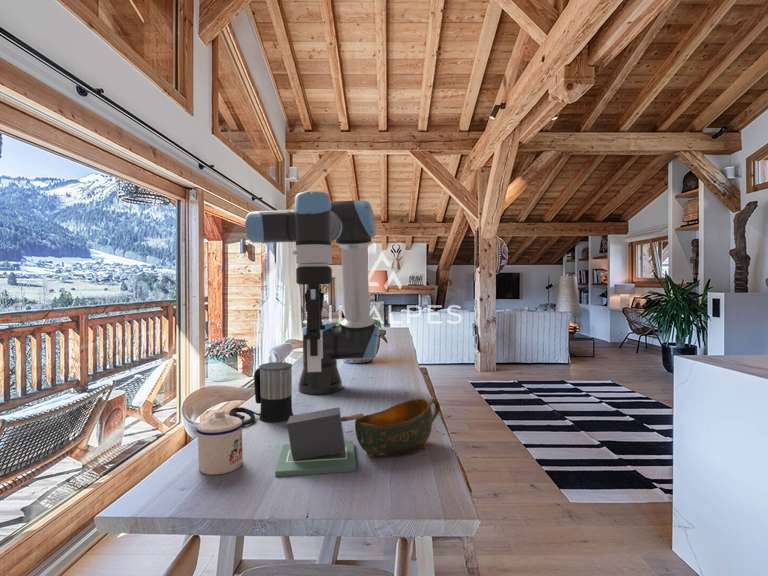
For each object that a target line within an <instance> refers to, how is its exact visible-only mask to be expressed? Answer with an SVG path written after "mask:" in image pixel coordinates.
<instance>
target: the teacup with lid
mask: <svg viewBox="0 0 768 576" xmlns="http://www.w3.org/2000/svg"><path fill="white" fill-rule="evenodd" d="M243 426H244V425H243V422H242V420H241V419H240V418H238V417H234V416H230V415H229V414H226V411H225V410H223V409H219V410H216V411H214V415H213V416H211V417H209V418H207V419H205V420H202V421H200V423H198V425H197V427H196V432H197V445H198V446H197V447H198V448H197V449H198V450H197V452H198V470H199V472H200V473H202V474H204V475H209V476H211V475H212V476H213V475H214V476H217V475H223V474H228V473H230V472H234V471H236V470H237V469H239V468H240V467H241V466H242V465H243V460H244V459H243V457H244V456H243Z"/></svg>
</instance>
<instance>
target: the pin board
mask: <svg viewBox="0 0 768 576" xmlns="http://www.w3.org/2000/svg"><path fill="white" fill-rule="evenodd" d="M354 446H355V445H354V440H352V439H351V440H345V451H344V452H339V453H333V454H328V455H323V456H318V457H312V458H307V459H302V460H297V461H293V457H292V451H291V445H290V443H285V444H284V443H283V444H282V448H281V450H280V451H281V452H280V454H279V459H278V461H277V464H276V469H275V470H274V472H275V474H274V477H288V476H304V475H319V474H320V475H321V474H322V475H323V474H333V473H350V472H351V473H352V472H356V471H357V464H356V455H355V447H354Z"/></svg>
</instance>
